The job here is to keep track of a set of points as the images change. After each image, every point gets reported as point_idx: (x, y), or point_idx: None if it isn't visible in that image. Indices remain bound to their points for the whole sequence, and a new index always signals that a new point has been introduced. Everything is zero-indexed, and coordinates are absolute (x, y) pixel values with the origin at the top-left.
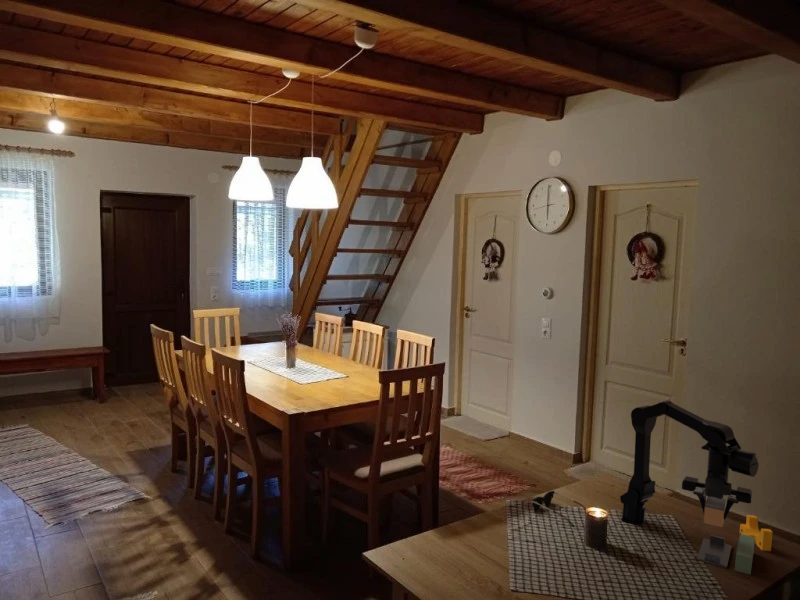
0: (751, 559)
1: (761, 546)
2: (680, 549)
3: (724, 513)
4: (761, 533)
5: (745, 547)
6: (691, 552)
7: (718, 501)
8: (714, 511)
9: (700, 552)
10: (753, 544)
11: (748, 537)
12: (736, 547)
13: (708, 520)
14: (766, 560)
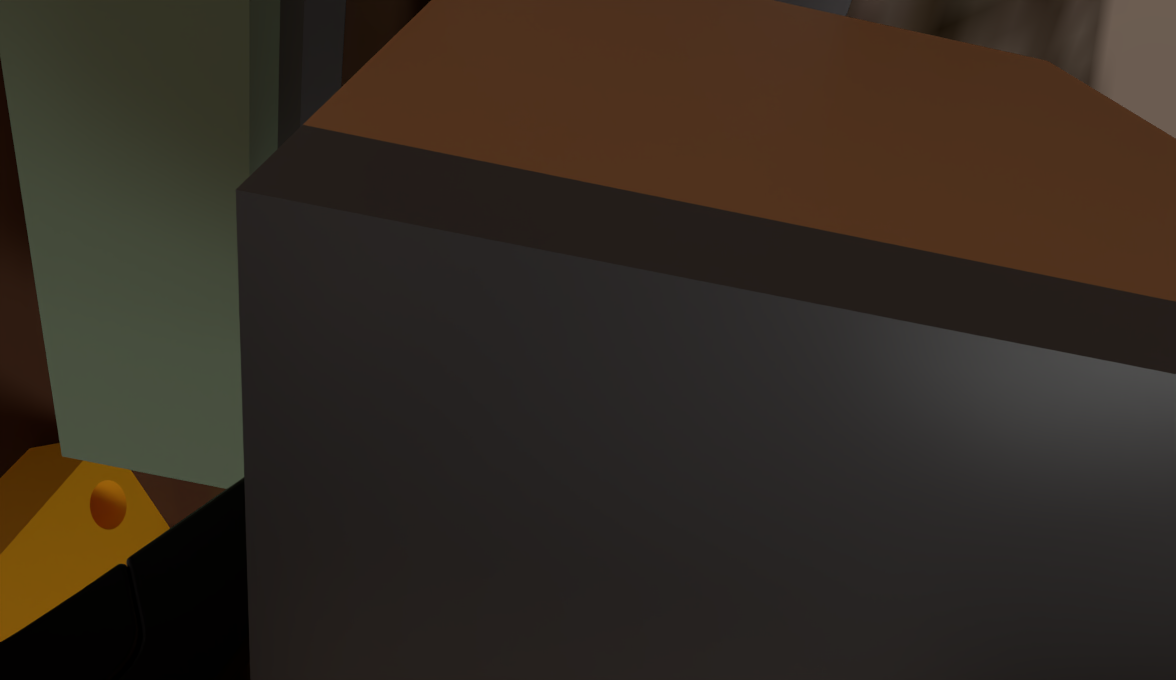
0: None
1: (98, 473)
2: (1083, 49)
3: None
4: (28, 598)
5: (120, 13)
6: (939, 16)
7: None
8: (886, 174)
9: (825, 9)
10: (32, 215)
11: (138, 427)
12: (298, 114)
13: (954, 69)
14: (22, 209)
